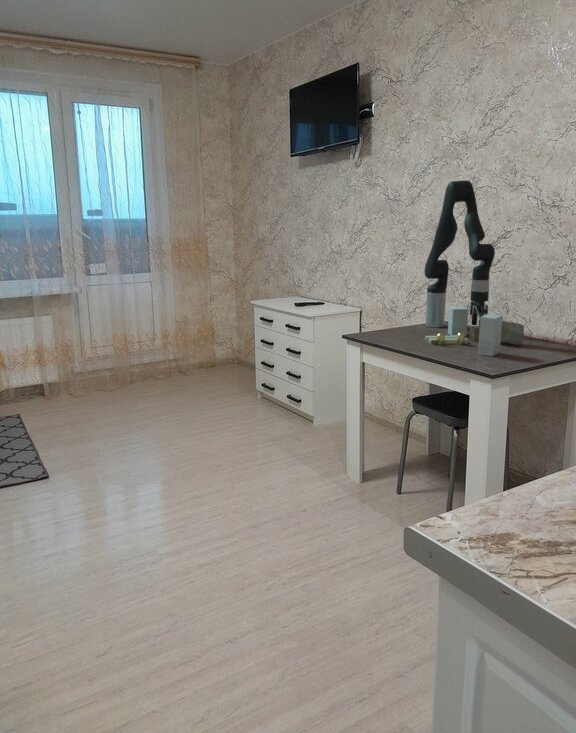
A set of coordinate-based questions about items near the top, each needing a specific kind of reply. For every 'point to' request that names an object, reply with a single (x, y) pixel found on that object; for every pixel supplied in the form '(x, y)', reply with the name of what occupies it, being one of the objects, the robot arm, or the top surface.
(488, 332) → the skincare box
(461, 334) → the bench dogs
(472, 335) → the walnut block
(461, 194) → the robot arm
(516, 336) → the stone
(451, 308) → the supplement box
